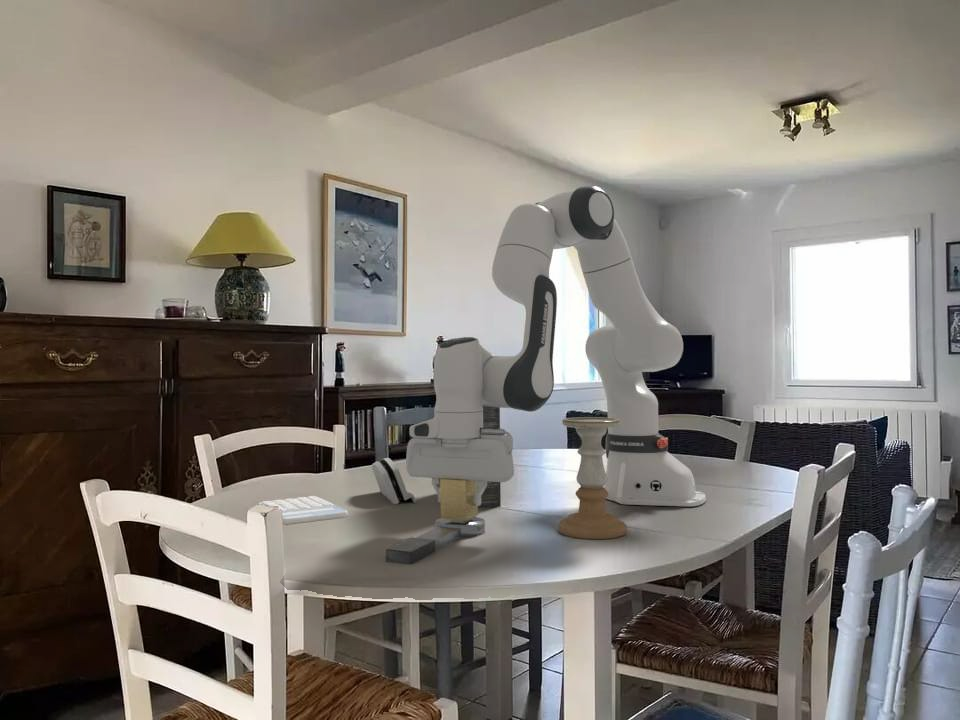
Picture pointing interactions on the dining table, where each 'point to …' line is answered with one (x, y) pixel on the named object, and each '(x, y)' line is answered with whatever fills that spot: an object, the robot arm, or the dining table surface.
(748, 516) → the dining table surface
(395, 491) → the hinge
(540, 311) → the robot arm
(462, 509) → the tan rectangular block
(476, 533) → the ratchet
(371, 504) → the dining table surface
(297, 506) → the calculator
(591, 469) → the candle holder
